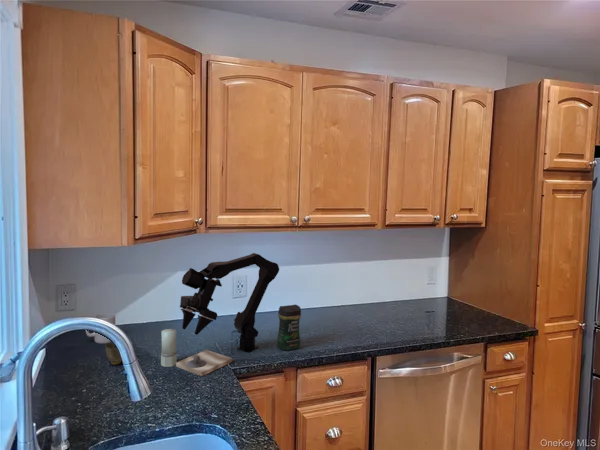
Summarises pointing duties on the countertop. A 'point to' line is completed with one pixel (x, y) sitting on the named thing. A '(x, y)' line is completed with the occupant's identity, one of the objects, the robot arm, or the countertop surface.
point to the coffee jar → (289, 327)
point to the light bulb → (168, 348)
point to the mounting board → (204, 362)
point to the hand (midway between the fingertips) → (189, 331)
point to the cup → (112, 354)
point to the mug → (99, 338)
